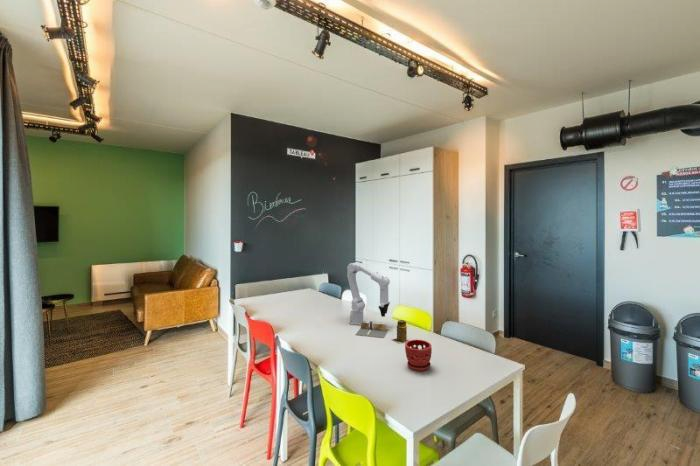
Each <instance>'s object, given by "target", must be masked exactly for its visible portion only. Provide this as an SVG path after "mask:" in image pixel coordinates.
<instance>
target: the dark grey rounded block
mask: <svg viewBox="0 0 700 466" xmlns="http://www.w3.org/2000/svg"><path fill="white" fill-rule="evenodd" d="M369 327H370V330H372V327H373V321H371V320H370V321H369V322H365V323H364V322H361V325H360V328H361V329H369Z"/></svg>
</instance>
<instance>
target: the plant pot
mask: <svg viewBox="0 0 700 466" xmlns="http://www.w3.org/2000/svg"><path fill="white" fill-rule="evenodd" d="M404 343H405V344H404V349H405V350H404V351H405V356H406V360H407V366H408V367H409V368H410V369H411V370H413V371H418V372H419V371H421V372H423V371H427V370H428V369H430V367H431V365H432V364H431V362H430V361H431V358H432V353H433V352H432V351H433V350H432V344H431V343H430V342H429V341H426V340H424V339H411V340H410V339H409V341H407V342H404ZM419 346H421V348H419Z"/></svg>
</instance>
